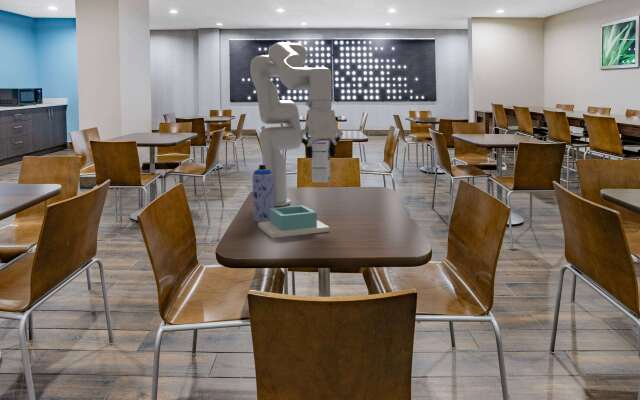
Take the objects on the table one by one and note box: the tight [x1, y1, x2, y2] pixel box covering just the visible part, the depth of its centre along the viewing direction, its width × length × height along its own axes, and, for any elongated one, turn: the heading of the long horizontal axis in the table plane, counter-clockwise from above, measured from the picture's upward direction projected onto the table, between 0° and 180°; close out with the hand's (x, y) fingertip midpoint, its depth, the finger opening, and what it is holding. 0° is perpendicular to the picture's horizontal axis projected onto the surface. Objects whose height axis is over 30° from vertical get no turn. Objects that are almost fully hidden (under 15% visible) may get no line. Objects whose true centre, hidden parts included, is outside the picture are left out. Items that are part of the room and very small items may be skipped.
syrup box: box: [310, 139, 331, 184], centre depth 186 cm, size 6×6×14 cm
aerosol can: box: [251, 164, 275, 222], centre depth 196 cm, size 8×8×20 cm
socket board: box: [257, 204, 330, 239], centre depth 183 cm, size 16×20×6 cm
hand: (320, 156), depth 185 cm, fingers closed on syrup box, 7 cm apart
